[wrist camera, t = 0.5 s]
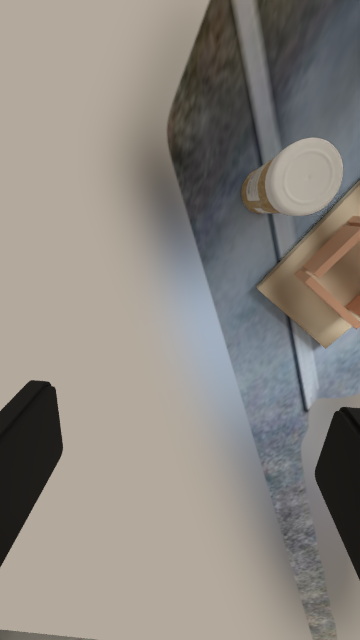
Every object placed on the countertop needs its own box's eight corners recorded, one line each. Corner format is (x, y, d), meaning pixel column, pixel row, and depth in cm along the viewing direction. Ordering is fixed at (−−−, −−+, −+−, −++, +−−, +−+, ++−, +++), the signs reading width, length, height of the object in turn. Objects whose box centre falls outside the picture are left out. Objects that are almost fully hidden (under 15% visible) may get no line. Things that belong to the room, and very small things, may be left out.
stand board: (366, 172, 29) (373, 170, 28) (435, 248, 31) (443, 249, 30) (255, 286, 34) (257, 289, 33) (321, 344, 36) (325, 348, 35)
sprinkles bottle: (262, 222, 31) (306, 231, 19) (231, 195, 30) (256, 185, 18) (292, 186, 30) (362, 170, 17) (261, 157, 29) (310, 117, 16)
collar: (353, 215, 29) (373, 216, 26) (401, 265, 31) (425, 272, 28) (294, 274, 32) (305, 281, 29) (340, 317, 34) (356, 329, 30)
